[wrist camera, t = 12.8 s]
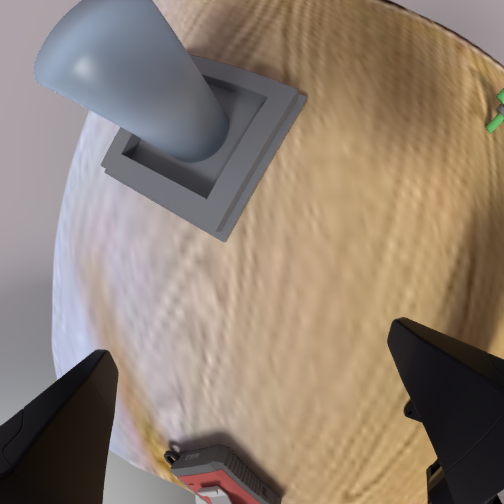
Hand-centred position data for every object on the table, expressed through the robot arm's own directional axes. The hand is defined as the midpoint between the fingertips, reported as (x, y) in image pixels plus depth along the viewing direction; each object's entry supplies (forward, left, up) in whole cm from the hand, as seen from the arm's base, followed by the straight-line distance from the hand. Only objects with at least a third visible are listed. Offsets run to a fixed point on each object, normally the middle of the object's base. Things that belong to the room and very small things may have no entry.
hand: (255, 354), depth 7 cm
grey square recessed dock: (+11, -7, -11) cm, 17 cm away
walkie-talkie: (-9, +23, -12) cm, 27 cm away
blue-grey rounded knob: (+10, -7, -10) cm, 16 cm away
